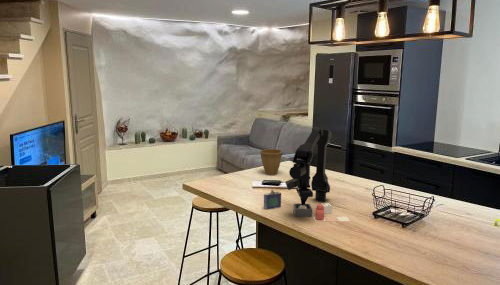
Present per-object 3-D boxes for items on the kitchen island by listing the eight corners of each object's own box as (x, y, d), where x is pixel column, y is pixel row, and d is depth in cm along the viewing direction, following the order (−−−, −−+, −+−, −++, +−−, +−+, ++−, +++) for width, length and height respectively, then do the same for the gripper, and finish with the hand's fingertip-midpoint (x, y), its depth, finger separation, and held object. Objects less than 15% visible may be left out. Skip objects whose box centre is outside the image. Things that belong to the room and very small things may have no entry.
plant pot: (271, 169, 266) (271, 148, 263) (286, 174, 254) (286, 151, 251) (255, 173, 256) (255, 150, 253) (270, 178, 245) (270, 154, 242)
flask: (264, 212, 186) (264, 191, 184) (262, 210, 188) (262, 189, 186) (281, 210, 189) (282, 189, 187) (279, 208, 191) (279, 188, 189)
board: (290, 213, 184) (291, 210, 184) (343, 213, 185) (343, 210, 184) (294, 224, 170) (294, 221, 170) (351, 224, 171) (351, 221, 171)
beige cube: (320, 211, 184) (321, 203, 183) (328, 210, 184) (328, 202, 184) (323, 214, 180) (324, 206, 179) (331, 213, 180) (331, 205, 180)
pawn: (314, 217, 175) (315, 202, 174) (323, 217, 175) (323, 202, 174) (316, 220, 171) (316, 205, 170) (324, 220, 171) (325, 205, 170)
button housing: (293, 211, 184) (293, 203, 183) (309, 211, 184) (309, 203, 183) (295, 217, 176) (295, 209, 175) (312, 217, 176) (312, 209, 175)
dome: (295, 211, 182) (296, 203, 181) (307, 211, 182) (307, 203, 182) (297, 216, 177) (297, 207, 176) (309, 215, 177) (309, 207, 176)
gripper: (284, 168, 185) (284, 198, 188) (289, 179, 167) (288, 212, 170) (306, 168, 185) (306, 198, 188) (313, 179, 167) (312, 212, 170)
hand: (302, 205), depth 179 cm, fingers closed, pressing on dome
